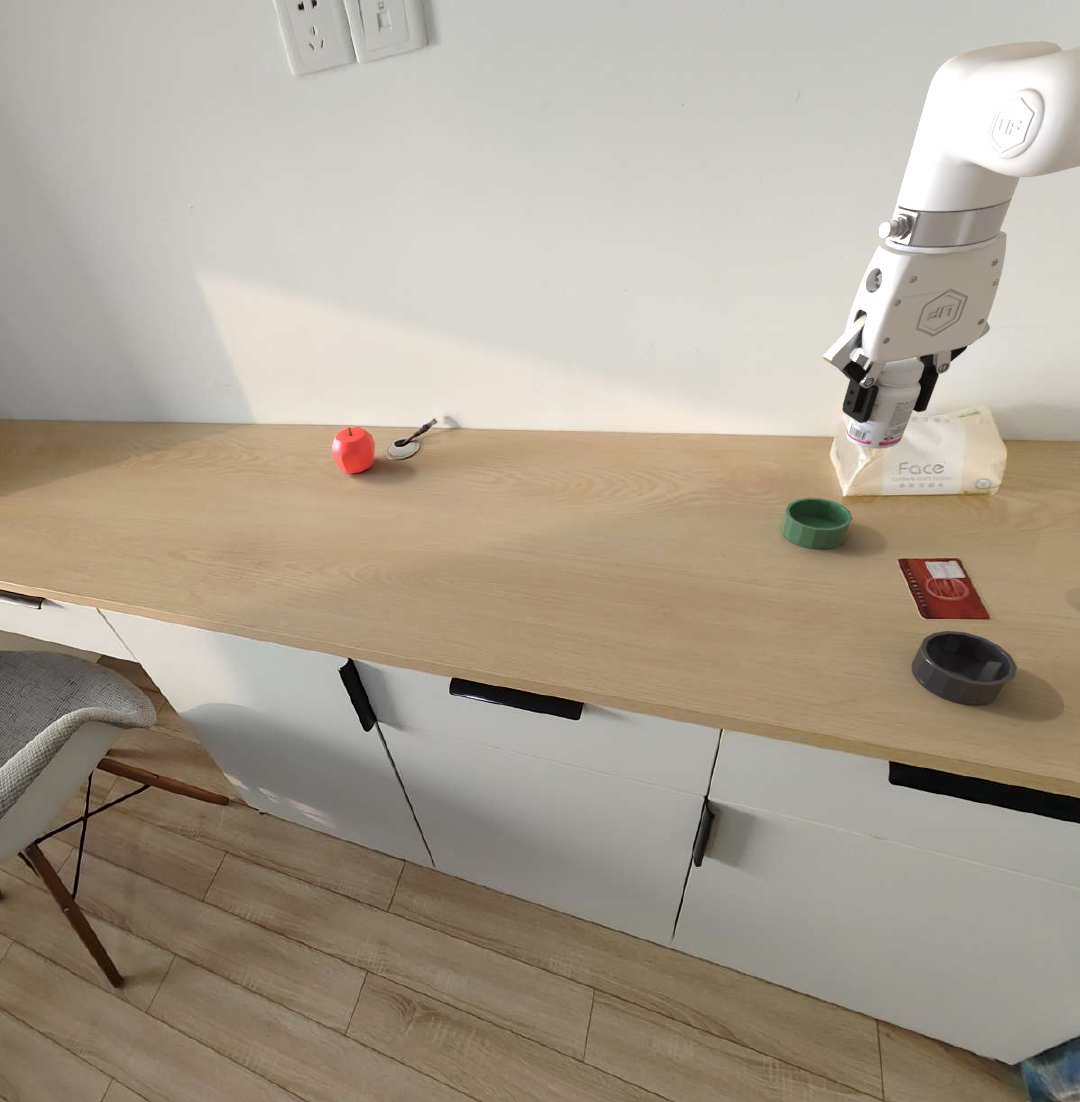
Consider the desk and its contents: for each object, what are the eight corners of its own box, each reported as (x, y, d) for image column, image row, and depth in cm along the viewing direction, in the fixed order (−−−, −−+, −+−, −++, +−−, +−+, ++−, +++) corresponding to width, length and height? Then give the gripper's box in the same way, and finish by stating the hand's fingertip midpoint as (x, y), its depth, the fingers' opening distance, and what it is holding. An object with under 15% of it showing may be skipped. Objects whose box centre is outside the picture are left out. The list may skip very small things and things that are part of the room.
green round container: (852, 525, 83) (858, 506, 81) (836, 555, 79) (843, 536, 77) (790, 511, 87) (795, 492, 85) (773, 539, 84) (778, 520, 82)
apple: (384, 470, 116) (376, 430, 111) (341, 483, 115) (331, 443, 110) (372, 451, 122) (365, 412, 117) (331, 463, 121) (322, 424, 117)
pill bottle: (897, 428, 70) (927, 354, 65) (902, 451, 67) (933, 376, 62) (843, 424, 72) (867, 353, 67) (845, 447, 69) (871, 374, 64)
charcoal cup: (1008, 669, 64) (1021, 648, 62) (996, 717, 60) (1010, 696, 58) (919, 642, 68) (929, 621, 66) (904, 685, 64) (914, 665, 63)
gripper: (872, 254, 55) (819, 444, 66) (1090, 208, 53) (999, 411, 64) (816, 235, 61) (777, 412, 71) (1011, 193, 59) (941, 380, 70)
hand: (883, 409), depth 68 cm, fingers closed on pill bottle, 4 cm apart
